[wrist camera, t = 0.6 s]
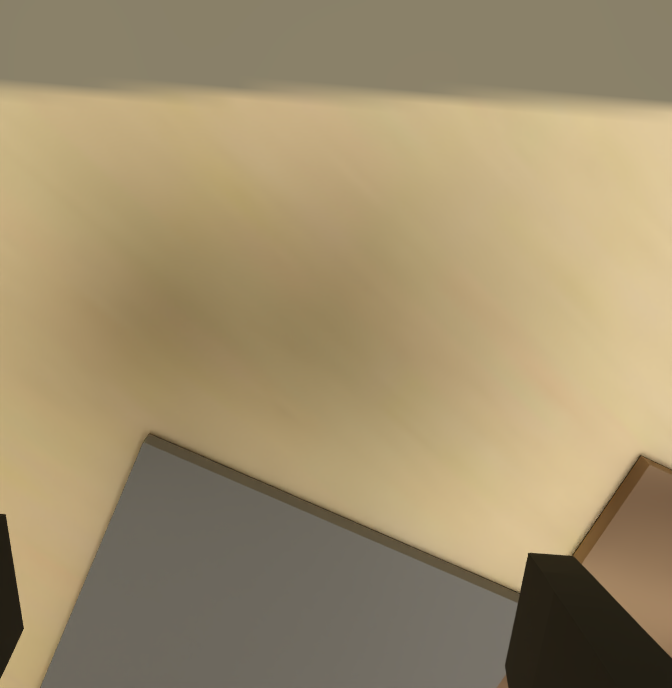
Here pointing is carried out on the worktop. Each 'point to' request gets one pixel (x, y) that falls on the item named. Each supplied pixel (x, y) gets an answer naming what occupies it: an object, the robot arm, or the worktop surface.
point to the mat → (268, 595)
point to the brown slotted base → (636, 550)
